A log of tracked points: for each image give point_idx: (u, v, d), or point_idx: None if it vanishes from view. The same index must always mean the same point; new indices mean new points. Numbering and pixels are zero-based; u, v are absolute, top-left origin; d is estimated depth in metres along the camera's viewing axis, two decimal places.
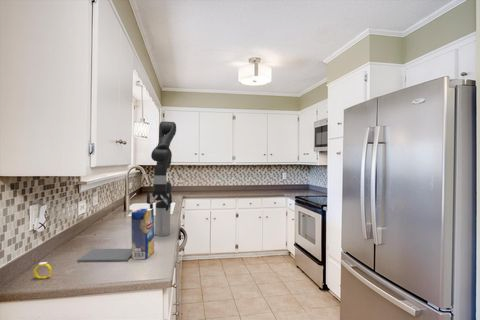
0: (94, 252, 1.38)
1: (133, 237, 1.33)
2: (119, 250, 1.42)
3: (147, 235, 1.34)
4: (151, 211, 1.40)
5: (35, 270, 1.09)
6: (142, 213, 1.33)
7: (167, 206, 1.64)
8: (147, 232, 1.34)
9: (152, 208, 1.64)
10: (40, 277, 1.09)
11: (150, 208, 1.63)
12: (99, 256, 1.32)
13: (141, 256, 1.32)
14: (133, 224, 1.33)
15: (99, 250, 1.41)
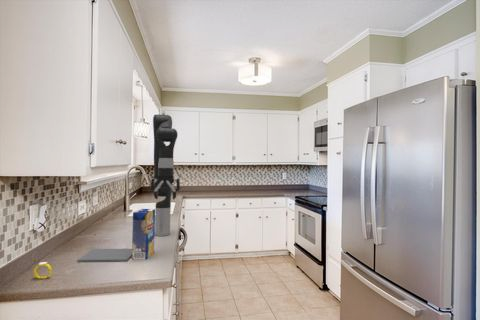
0: (94, 252, 1.38)
1: (133, 237, 1.33)
2: (119, 250, 1.42)
3: (148, 236, 1.34)
4: (153, 212, 1.40)
5: (35, 270, 1.09)
6: (144, 213, 1.32)
7: (174, 193, 1.42)
8: (148, 233, 1.34)
9: (157, 196, 1.42)
10: (40, 277, 1.09)
11: (155, 196, 1.41)
12: (99, 256, 1.32)
13: (141, 256, 1.32)
14: (134, 224, 1.33)
15: (99, 250, 1.41)
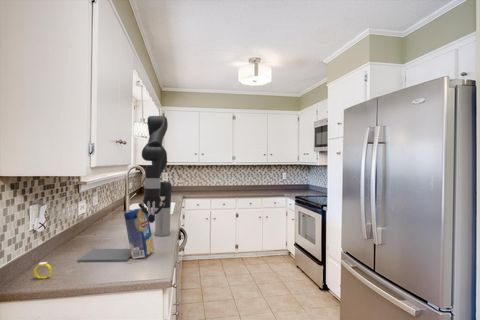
0: (94, 252, 1.38)
1: (129, 237, 1.33)
2: (119, 250, 1.42)
3: (143, 233, 1.35)
4: None
5: (35, 270, 1.09)
6: (135, 212, 1.33)
7: (153, 217, 1.37)
8: (143, 230, 1.35)
9: None
10: (40, 277, 1.09)
11: (149, 219, 1.37)
12: (99, 256, 1.32)
13: (140, 255, 1.32)
14: (127, 224, 1.33)
15: (99, 250, 1.41)
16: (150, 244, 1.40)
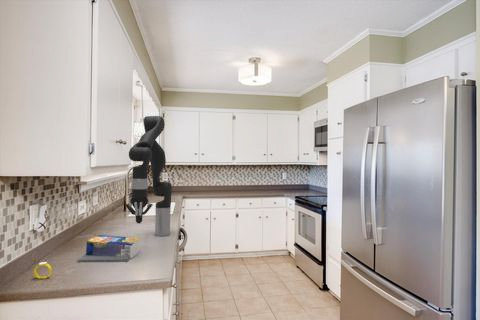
0: None
1: (109, 255, 1.33)
2: None
3: (112, 241, 1.35)
4: (97, 236, 1.41)
5: (35, 270, 1.09)
6: (87, 243, 1.34)
7: (140, 217, 1.37)
8: (109, 241, 1.35)
9: None
10: (40, 277, 1.09)
11: (136, 220, 1.37)
12: (99, 256, 1.32)
13: (129, 249, 1.33)
14: (97, 254, 1.33)
15: None
16: (131, 239, 1.40)
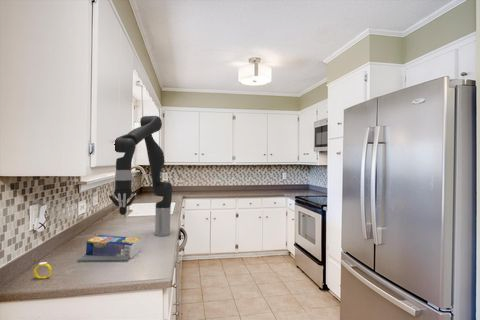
0: None
1: (109, 255, 1.33)
2: None
3: (112, 241, 1.35)
4: (97, 236, 1.41)
5: (35, 270, 1.09)
6: (87, 243, 1.34)
7: (124, 209, 1.36)
8: (109, 241, 1.35)
9: None
10: (40, 277, 1.09)
11: (120, 211, 1.36)
12: (99, 256, 1.32)
13: (129, 249, 1.33)
14: (97, 254, 1.33)
15: None
16: (131, 239, 1.40)
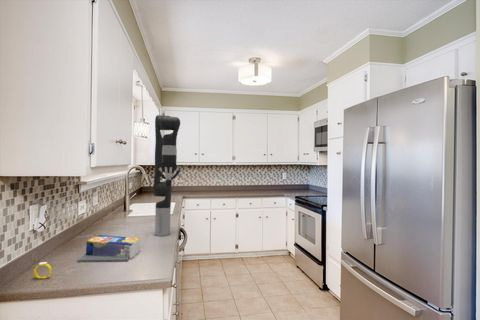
0: None
1: (109, 255, 1.33)
2: None
3: (112, 241, 1.35)
4: (97, 236, 1.41)
5: (35, 270, 1.09)
6: (87, 243, 1.34)
7: (170, 182, 1.48)
8: (109, 241, 1.35)
9: None
10: (40, 277, 1.09)
11: (166, 184, 1.48)
12: (99, 256, 1.32)
13: (128, 249, 1.33)
14: (97, 254, 1.33)
15: None
16: (131, 239, 1.40)
